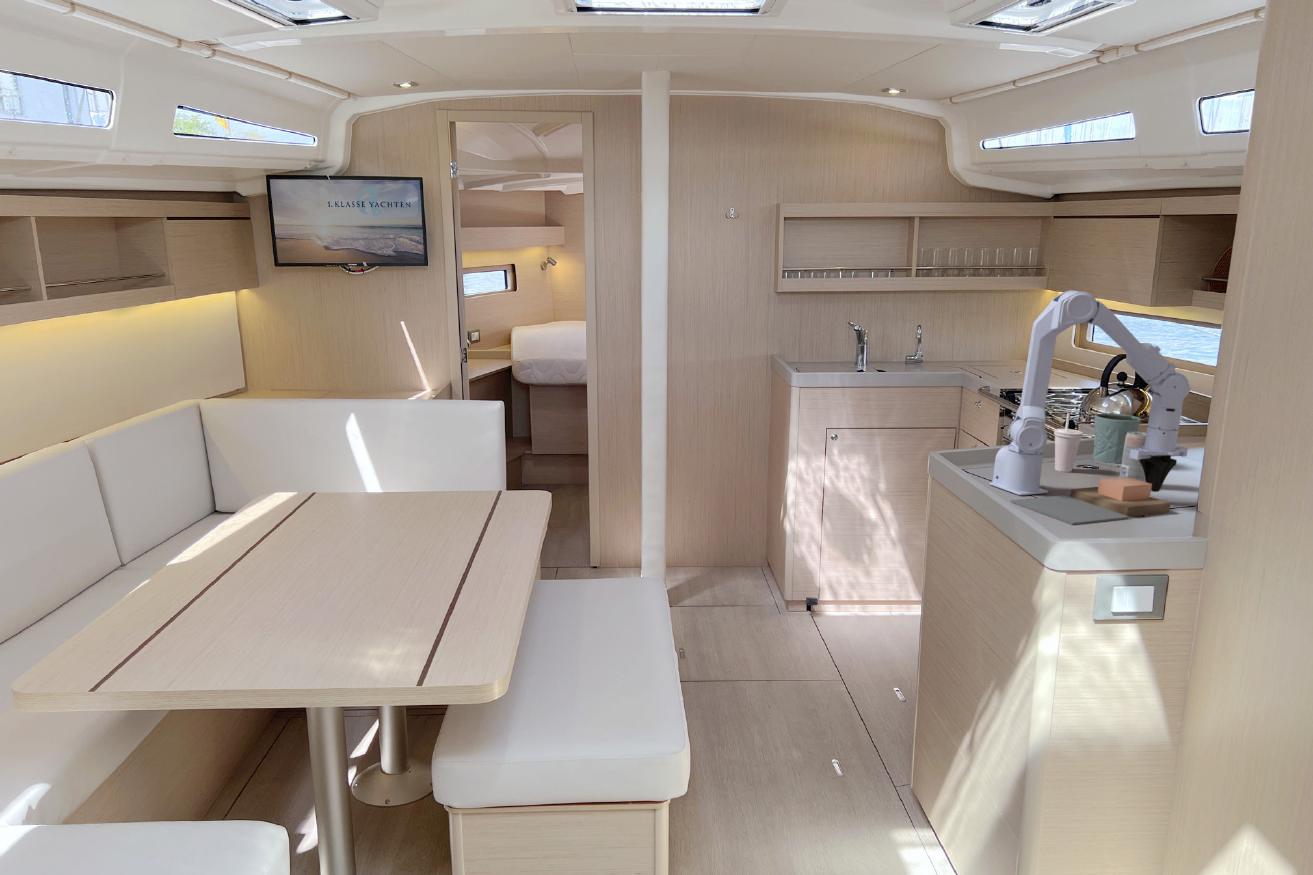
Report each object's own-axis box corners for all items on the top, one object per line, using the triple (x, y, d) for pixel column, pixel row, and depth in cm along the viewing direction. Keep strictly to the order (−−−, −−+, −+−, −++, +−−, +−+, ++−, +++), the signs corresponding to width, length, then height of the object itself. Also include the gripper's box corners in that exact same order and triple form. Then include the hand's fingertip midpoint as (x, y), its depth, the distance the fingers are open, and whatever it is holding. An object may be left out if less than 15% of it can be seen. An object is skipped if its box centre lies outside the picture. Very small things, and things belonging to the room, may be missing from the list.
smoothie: (1046, 466, 218) (1053, 410, 215) (1074, 468, 217) (1082, 412, 214) (1052, 472, 212) (1060, 414, 209) (1080, 474, 210) (1089, 416, 208)
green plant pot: (1142, 466, 222) (1149, 419, 219) (1115, 469, 217) (1122, 421, 215) (1106, 457, 231) (1113, 411, 228) (1079, 459, 226) (1086, 413, 224)
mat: (1010, 502, 184) (1011, 500, 184) (1065, 496, 190) (1065, 495, 190) (1072, 524, 170) (1072, 522, 170) (1129, 518, 175) (1129, 516, 175)
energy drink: (1142, 483, 204) (1150, 432, 202) (1146, 489, 199) (1155, 437, 197) (1116, 480, 206) (1124, 430, 203) (1120, 486, 201) (1128, 434, 198)
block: (1097, 493, 186) (1099, 479, 185) (1125, 490, 189) (1127, 476, 188) (1121, 500, 181) (1123, 486, 180) (1149, 498, 184) (1152, 484, 183)
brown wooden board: (1070, 498, 189) (1071, 489, 189) (1111, 494, 194) (1112, 485, 193) (1126, 517, 176) (1127, 507, 176) (1169, 512, 181) (1170, 502, 180)
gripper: (1155, 433, 179) (1144, 497, 182) (1204, 430, 184) (1194, 493, 187) (1125, 426, 185) (1115, 489, 188) (1174, 423, 191) (1164, 484, 193)
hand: (1152, 490), depth 188 cm, fingers closed
